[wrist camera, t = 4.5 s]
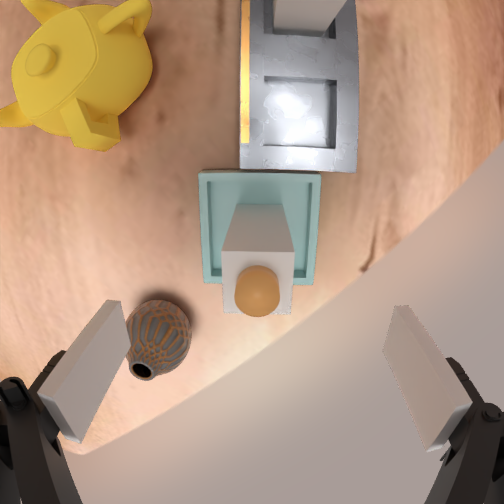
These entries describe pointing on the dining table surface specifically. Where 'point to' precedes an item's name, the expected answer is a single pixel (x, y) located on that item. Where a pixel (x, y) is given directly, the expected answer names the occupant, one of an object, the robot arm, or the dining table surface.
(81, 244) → the dining table surface
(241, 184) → the tray
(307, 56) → the grey socket base
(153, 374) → the vase
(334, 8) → the twin plug
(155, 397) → the dining table surface
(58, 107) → the teapot
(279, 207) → the plug
